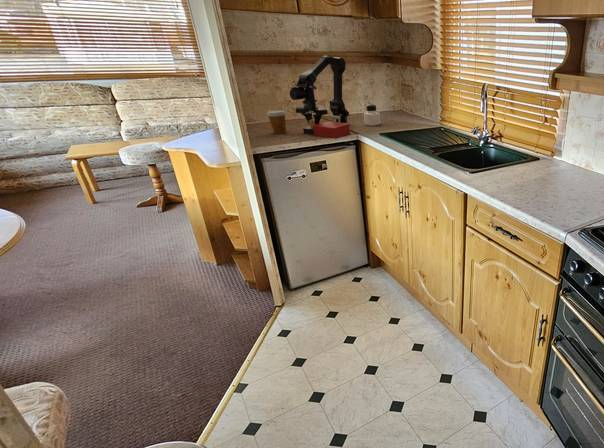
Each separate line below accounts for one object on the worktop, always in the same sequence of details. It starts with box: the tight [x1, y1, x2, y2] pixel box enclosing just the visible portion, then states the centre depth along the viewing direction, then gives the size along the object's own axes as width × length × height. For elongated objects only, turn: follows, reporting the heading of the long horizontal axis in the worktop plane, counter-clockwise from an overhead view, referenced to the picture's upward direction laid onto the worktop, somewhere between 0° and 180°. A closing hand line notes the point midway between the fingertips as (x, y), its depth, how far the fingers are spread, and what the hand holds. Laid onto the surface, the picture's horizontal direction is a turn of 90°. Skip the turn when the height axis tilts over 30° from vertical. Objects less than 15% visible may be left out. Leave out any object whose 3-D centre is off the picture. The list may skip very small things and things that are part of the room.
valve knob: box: [308, 118, 316, 128], centre depth 231 cm, size 4×4×4 cm
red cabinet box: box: [313, 125, 351, 139], centre depth 227 cm, size 13×15×5 cm
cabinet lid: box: [313, 115, 351, 129], centre depth 226 cm, size 13×15×5 cm
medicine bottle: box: [363, 104, 382, 127], centre depth 253 cm, size 7×7×12 cm
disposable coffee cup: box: [266, 109, 287, 135], centre depth 228 cm, size 10×10×12 cm
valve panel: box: [302, 125, 314, 136], centre depth 232 cm, size 10×9×3 cm
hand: (313, 126), depth 232 cm, fingers closed on valve knob, 4 cm apart
